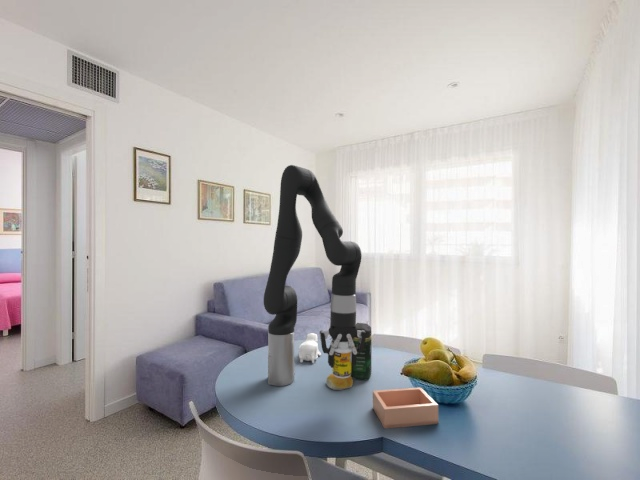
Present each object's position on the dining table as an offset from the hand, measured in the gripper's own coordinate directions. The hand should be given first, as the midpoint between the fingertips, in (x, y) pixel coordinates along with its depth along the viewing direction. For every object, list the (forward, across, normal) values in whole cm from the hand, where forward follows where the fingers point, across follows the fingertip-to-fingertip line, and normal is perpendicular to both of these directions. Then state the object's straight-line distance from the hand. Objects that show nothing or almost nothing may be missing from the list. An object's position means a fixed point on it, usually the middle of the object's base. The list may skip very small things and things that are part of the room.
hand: (342, 366), depth 88 cm
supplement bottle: (+3, 0, 0) cm, 3 cm away
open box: (+12, +17, -6) cm, 21 cm away
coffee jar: (+13, +12, +21) cm, 27 cm away
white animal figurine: (+14, -5, +41) cm, 44 cm away
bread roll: (+13, +2, +14) cm, 20 cm away
